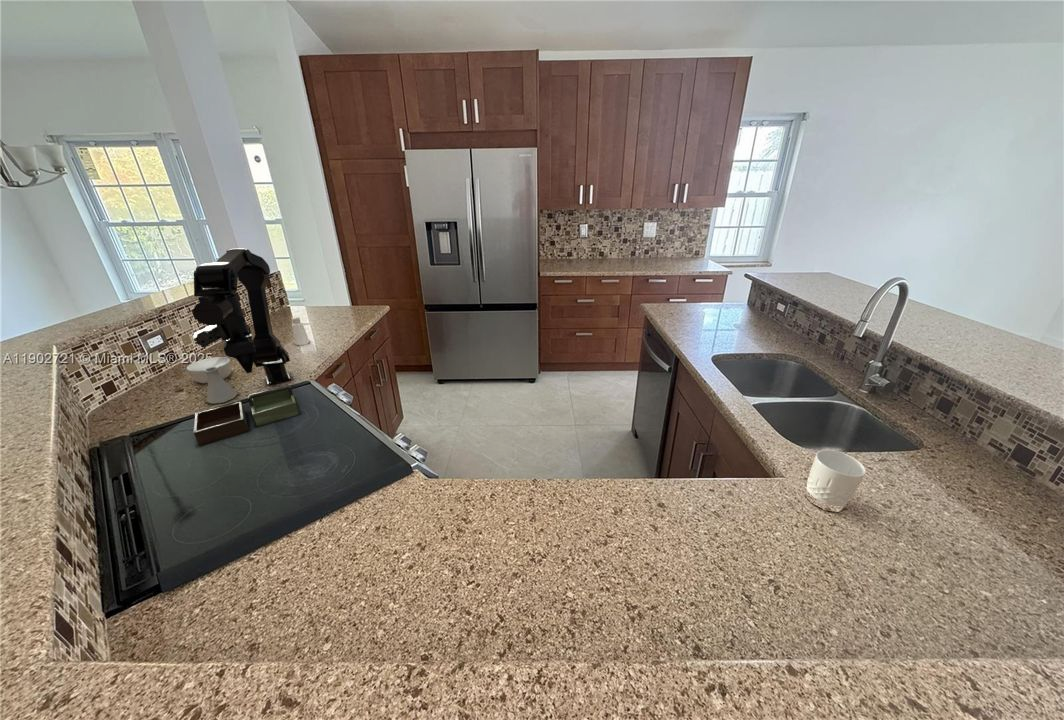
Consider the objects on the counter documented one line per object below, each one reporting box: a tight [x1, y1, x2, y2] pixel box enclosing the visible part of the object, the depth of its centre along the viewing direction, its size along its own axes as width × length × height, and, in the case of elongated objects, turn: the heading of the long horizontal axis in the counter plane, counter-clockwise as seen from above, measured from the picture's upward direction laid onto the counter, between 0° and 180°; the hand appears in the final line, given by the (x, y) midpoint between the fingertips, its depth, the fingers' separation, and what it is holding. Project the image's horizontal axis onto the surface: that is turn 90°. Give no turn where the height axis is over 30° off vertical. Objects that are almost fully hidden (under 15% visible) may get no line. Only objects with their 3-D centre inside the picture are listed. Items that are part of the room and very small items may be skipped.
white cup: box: [805, 449, 867, 506], centre depth 74 cm, size 8×8×10 cm
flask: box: [204, 367, 239, 405], centre depth 111 cm, size 7×7×10 cm
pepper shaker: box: [291, 316, 310, 346], centre depth 151 cm, size 5×5×11 cm
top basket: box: [247, 384, 300, 428], centre depth 105 cm, size 11×10×7 cm
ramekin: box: [186, 356, 232, 384], centre depth 124 cm, size 11×11×5 cm
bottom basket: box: [193, 401, 249, 447], centre depth 98 cm, size 11×10×4 cm
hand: (248, 366), depth 103 cm, fingers open, 9 cm apart
